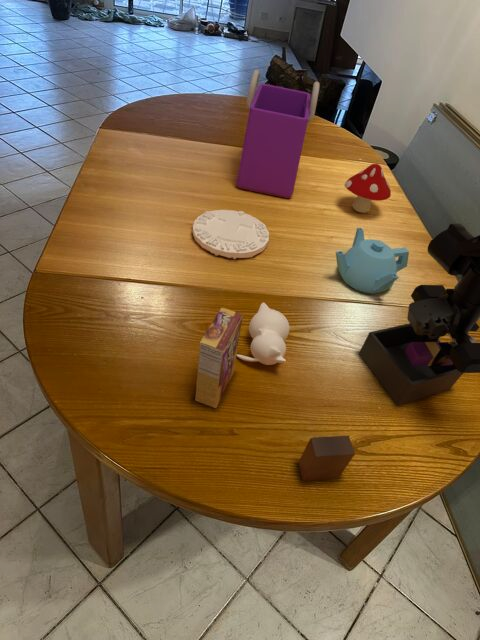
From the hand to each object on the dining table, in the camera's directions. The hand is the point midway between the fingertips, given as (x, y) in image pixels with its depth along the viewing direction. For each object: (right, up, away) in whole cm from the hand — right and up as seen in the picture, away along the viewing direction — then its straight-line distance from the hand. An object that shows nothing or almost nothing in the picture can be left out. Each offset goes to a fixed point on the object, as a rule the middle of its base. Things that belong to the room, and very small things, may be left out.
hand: (428, 357), depth 77 cm
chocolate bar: (0, 0, 0) cm, 0 cm away
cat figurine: (-31, +1, +6) cm, 31 cm away
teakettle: (-4, +17, +28) cm, 33 cm away
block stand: (-23, -17, -11) cm, 30 cm away
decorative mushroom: (+2, +41, +53) cm, 67 cm away
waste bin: (-2, -3, +7) cm, 8 cm away
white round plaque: (-37, +28, +33) cm, 57 cm away
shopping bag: (-26, +54, +61) cm, 85 cm away
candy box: (-40, -5, -2) cm, 40 cm away
